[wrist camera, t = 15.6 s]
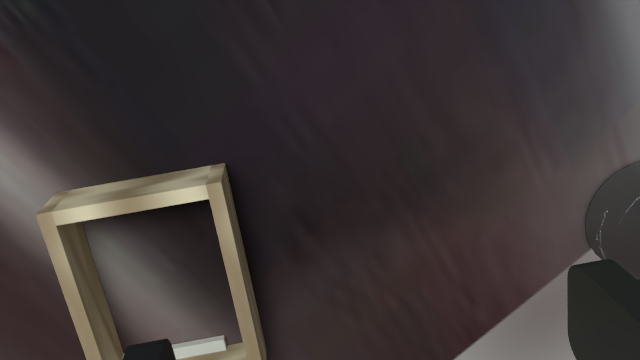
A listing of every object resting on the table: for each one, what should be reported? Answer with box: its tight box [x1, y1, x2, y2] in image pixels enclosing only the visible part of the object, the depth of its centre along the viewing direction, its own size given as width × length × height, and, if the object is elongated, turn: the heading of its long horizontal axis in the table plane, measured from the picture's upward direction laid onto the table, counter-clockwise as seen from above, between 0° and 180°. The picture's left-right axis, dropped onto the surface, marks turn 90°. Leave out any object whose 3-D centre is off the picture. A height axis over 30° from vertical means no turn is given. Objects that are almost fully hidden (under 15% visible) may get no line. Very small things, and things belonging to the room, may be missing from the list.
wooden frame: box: [36, 163, 266, 360], centre depth 42 cm, size 12×16×4 cm
